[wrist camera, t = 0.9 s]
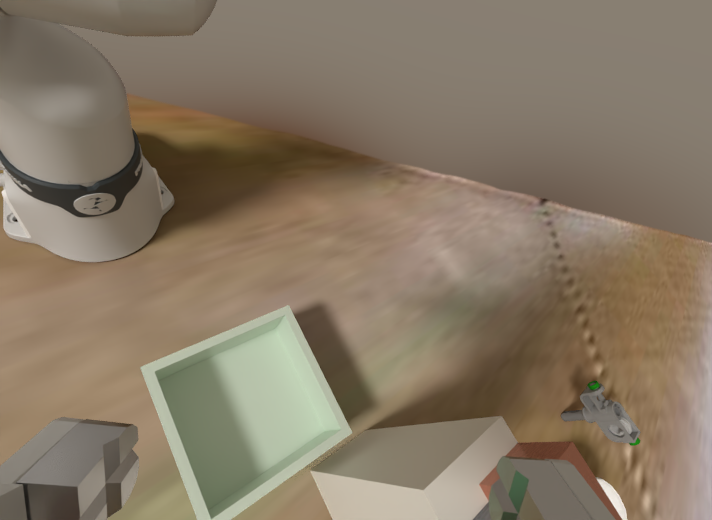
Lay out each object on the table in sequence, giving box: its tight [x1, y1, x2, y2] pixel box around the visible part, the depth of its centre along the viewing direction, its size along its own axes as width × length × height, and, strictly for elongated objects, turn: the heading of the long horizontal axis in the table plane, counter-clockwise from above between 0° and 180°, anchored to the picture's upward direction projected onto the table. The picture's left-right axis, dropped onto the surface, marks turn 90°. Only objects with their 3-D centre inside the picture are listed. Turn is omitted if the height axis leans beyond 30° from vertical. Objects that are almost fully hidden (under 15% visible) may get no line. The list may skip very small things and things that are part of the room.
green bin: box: [140, 305, 352, 520], centre depth 42 cm, size 17×17×7 cm
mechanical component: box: [561, 381, 640, 445], centre depth 60 cm, size 3×10×10 cm, turn 34°
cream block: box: [310, 416, 518, 520], centre depth 35 cm, size 10×9×26 cm
